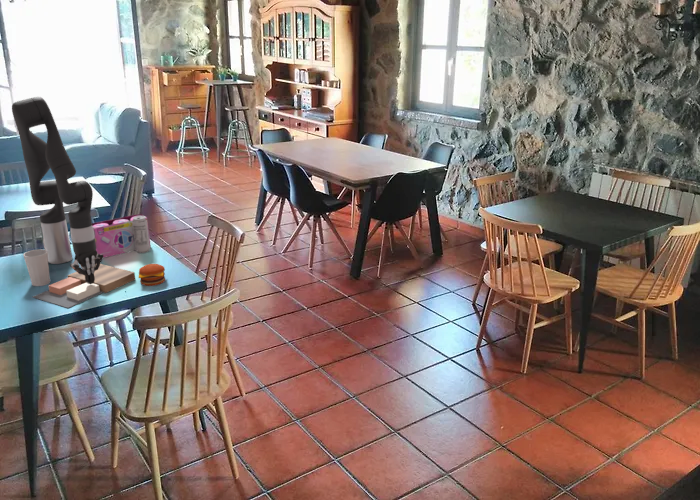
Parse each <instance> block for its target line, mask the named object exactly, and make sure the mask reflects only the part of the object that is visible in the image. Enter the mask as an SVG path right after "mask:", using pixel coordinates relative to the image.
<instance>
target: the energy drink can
mask: <svg viewBox="0 0 700 500" xmlns="http://www.w3.org/2000/svg"><path fill="white" fill-rule="evenodd" d="M144 216H145V215H143V216H137V217H134V218H133V221H132V227H133V234H134V242H135V249H136V250H135V251H136V253H138V254H146V253H148V252H150V250H151V247H150V245H151V241H150V242H149V237H150V233H149V234H148V230H149V225H148V226H147V221H148V219H147V220H146V219H145V217H146V216H145V217H144Z"/></svg>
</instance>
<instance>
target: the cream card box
mask: <svg viewBox="0 0 700 500" xmlns="http://www.w3.org/2000/svg"><path fill="white" fill-rule="evenodd" d="M66 292H67V297H69V298H72V299H75V300H78V301H79V300H81V299H83V298H86V297H88V296H90V295H93V294H95V293H97V292H100V289H99V285H97V284H88V283H84V284H81V285H79V286H76V287H74V288H72V289H69V290H67V291H66Z"/></svg>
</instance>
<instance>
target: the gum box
mask: <svg viewBox="0 0 700 500" xmlns="http://www.w3.org/2000/svg"><path fill="white" fill-rule="evenodd" d="M137 216H144V217H145V219H146V220H147V226H148V227H149V223H148V217H147V216H145V215H143V214H142V213H137V214H131V215H127V216H123V217H117V218H113V219H108V220H103V221H96V222H93V223H92V226H93V230H94V235H95V242H96V251H97V253H98V254H101V255H103V259H105V258H107V257H108V258H109V257H112V256H116V255H118V256H119V255H122V254H125V253H129V252H133V251H134V252H135V251H136V249H135V242H134V234H133V227H132V221H133V218H134V217H137ZM148 234H149V235H150V231H149V229H148ZM149 242H150V243H151V237H150V236H149ZM150 248H151V244H150Z"/></svg>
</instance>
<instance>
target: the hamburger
mask: <svg viewBox="0 0 700 500" xmlns="http://www.w3.org/2000/svg"><path fill="white" fill-rule="evenodd" d="M165 270H166V269H165V266H164V265H162V264H159V263H149V264H145V265H143V266H142V267H141V266H140V268H139V270H138V279H140V281H139V282H140V284H141V285H142V286H146V287H154V286H158V285H159V286H160V285H162V284H163V283H165V282H166V277H165V275H166V274H165Z"/></svg>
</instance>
